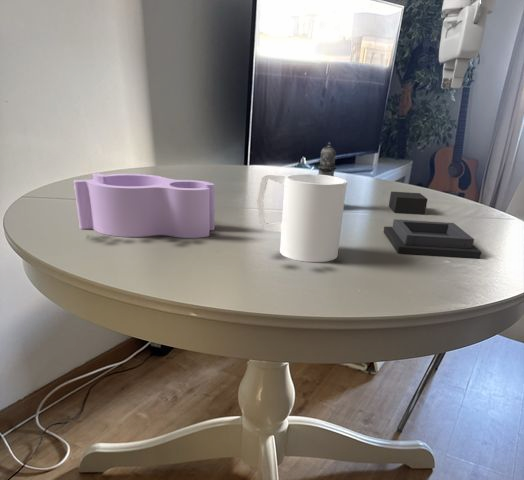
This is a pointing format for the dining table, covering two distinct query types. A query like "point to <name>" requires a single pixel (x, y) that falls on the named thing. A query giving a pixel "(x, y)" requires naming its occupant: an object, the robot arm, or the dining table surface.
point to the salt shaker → (327, 161)
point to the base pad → (431, 239)
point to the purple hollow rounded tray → (145, 205)
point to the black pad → (407, 202)
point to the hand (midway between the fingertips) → (450, 88)
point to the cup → (307, 215)
